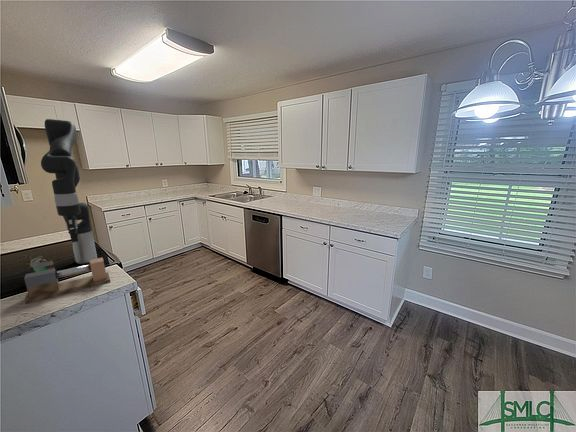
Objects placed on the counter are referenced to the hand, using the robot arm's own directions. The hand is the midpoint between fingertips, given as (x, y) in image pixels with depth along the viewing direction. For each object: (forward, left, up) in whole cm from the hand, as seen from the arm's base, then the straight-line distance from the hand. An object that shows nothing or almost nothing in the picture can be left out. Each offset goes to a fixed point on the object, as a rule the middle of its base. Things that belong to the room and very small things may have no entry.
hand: (75, 239), depth 108 cm
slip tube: (-1, -2, -16) cm, 16 cm away
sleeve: (-7, -11, -16) cm, 21 cm away
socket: (+4, +5, -21) cm, 22 cm away
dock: (-2, -4, -22) cm, 23 cm away
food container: (-23, -2, -22) cm, 32 cm away
